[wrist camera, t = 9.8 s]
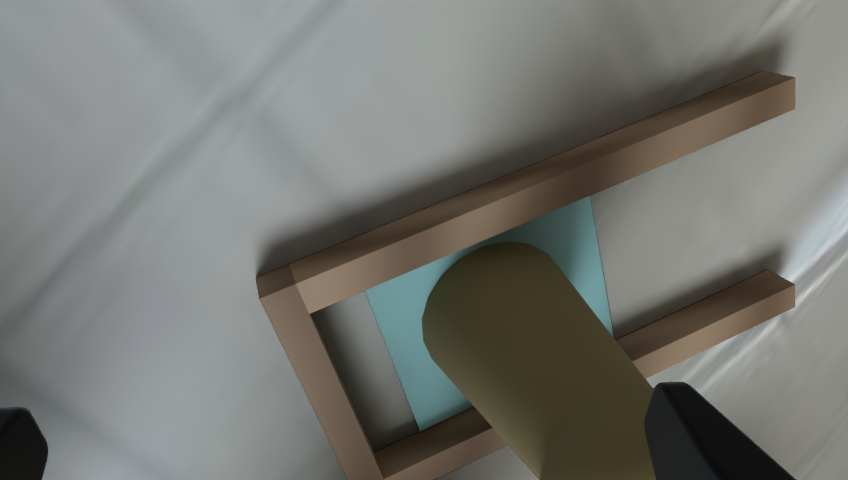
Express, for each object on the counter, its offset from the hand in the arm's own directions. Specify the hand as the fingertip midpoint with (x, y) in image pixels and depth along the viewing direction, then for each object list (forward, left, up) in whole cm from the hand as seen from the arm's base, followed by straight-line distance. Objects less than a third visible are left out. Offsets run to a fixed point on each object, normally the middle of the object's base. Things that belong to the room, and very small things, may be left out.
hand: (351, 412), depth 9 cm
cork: (-1, -10, -12) cm, 16 cm away
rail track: (+1, -12, -12) cm, 17 cm away
